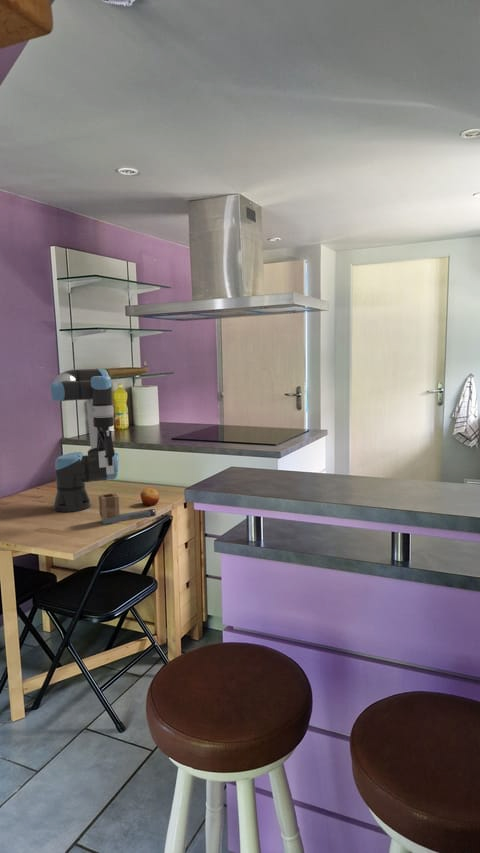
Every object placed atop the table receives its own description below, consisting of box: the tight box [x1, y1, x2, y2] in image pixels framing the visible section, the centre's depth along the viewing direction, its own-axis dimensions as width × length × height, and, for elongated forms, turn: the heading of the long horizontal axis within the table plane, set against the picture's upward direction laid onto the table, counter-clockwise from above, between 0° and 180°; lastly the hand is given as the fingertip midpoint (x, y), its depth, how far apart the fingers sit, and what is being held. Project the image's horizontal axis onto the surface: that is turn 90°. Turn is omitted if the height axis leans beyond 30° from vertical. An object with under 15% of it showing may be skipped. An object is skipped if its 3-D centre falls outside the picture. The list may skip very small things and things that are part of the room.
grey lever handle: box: [100, 508, 157, 526], centre depth 216 cm, size 5×22×7 cm, turn 116°
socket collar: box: [98, 492, 121, 519], centre depth 212 cm, size 6×6×8 cm
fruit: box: [140, 487, 160, 507], centre depth 236 cm, size 8×8×8 cm
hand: (106, 470), depth 210 cm, fingers open, 13 cm apart
